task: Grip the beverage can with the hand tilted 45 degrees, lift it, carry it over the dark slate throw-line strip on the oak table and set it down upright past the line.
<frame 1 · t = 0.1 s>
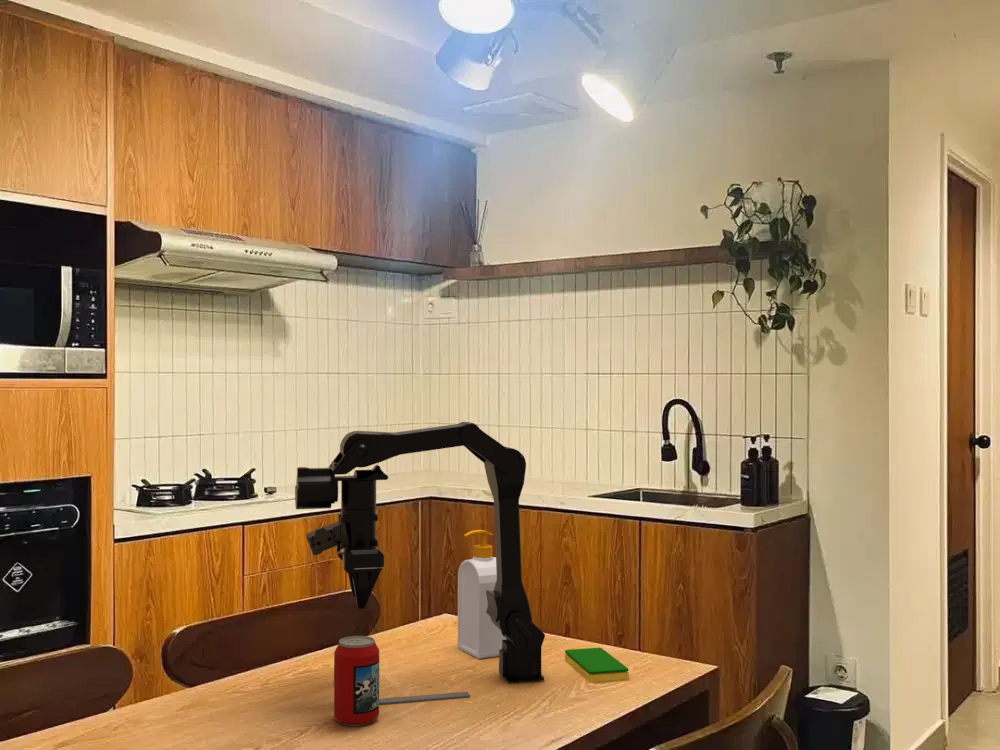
hand: (358, 602, 159), 15 cm above the table, tool pointing down, fingers open, 9 cm apart
dish sponge: (595, 673, 171), on the table
soap bottle: (480, 653, 182), on the table
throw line: (411, 700, 154), on the table
beverage can: (356, 721, 145), on the table
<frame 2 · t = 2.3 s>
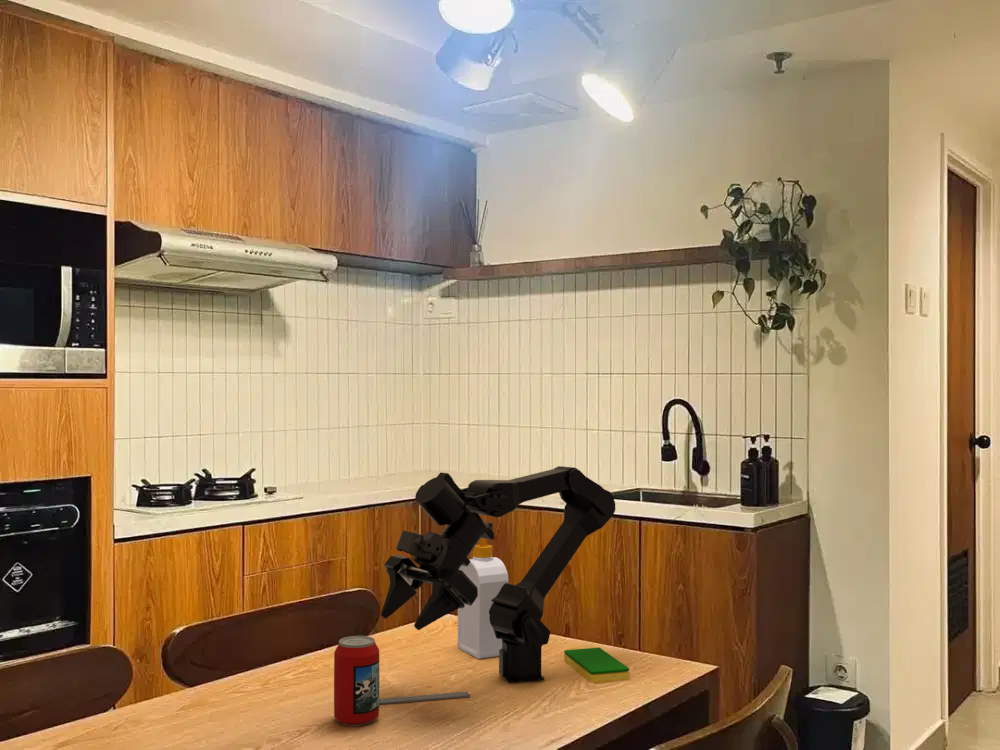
hand: (399, 622, 150), 13 cm above the table, tool tilted 45°, fingers open, 9 cm apart
nothing on the table moved.
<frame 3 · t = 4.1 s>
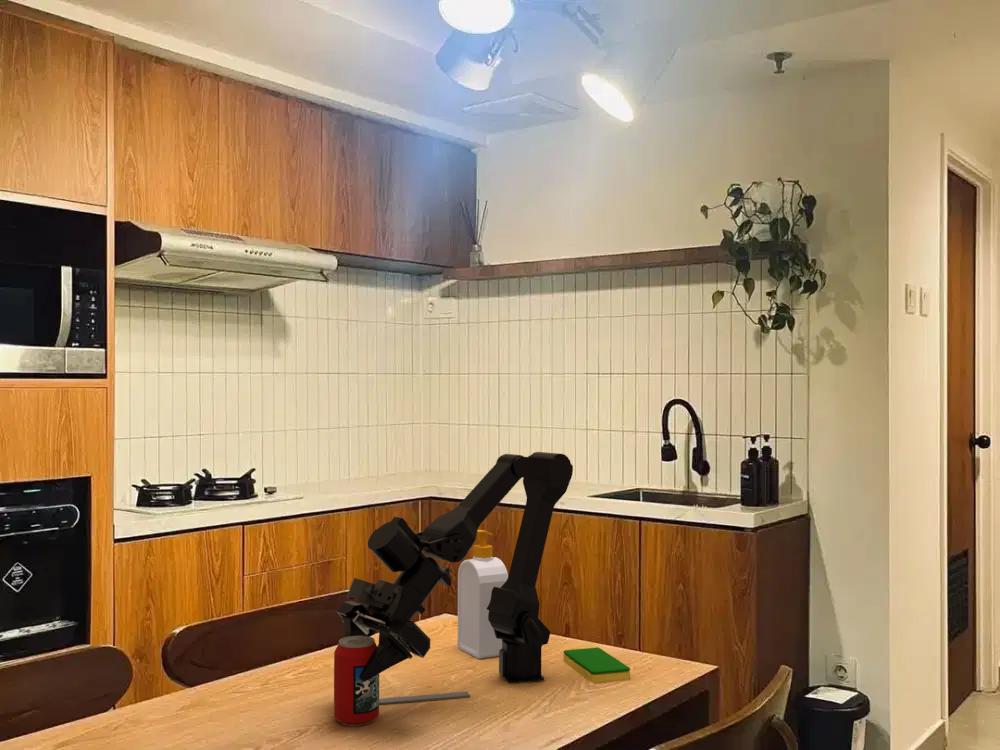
hand: (348, 674, 144), 7 cm above the table, tool tilted 45°, fingers closed on beverage can, 7 cm apart
beverage can: (356, 721, 145), on the table, touching gripper
everything else where it was.
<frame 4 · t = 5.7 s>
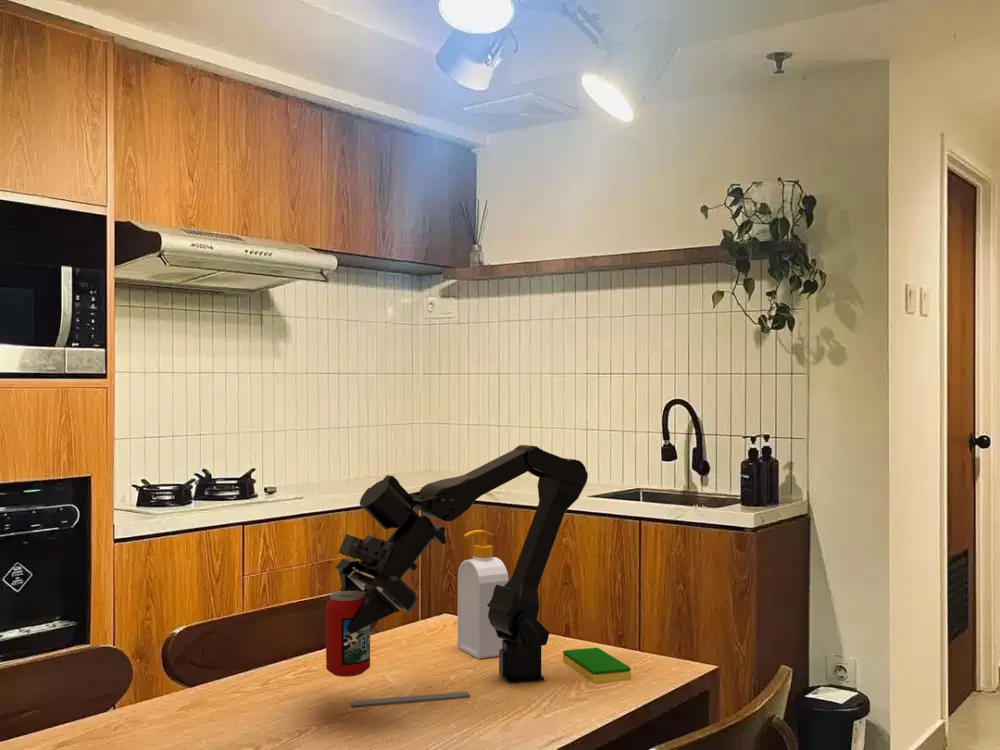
hand: (339, 626, 149), 13 cm above the table, tool tilted 45°, fingers closed on beverage can, 7 cm apart
beverage can: (348, 673, 149), point 6 cm above the table, touching gripper
everything else where it was.
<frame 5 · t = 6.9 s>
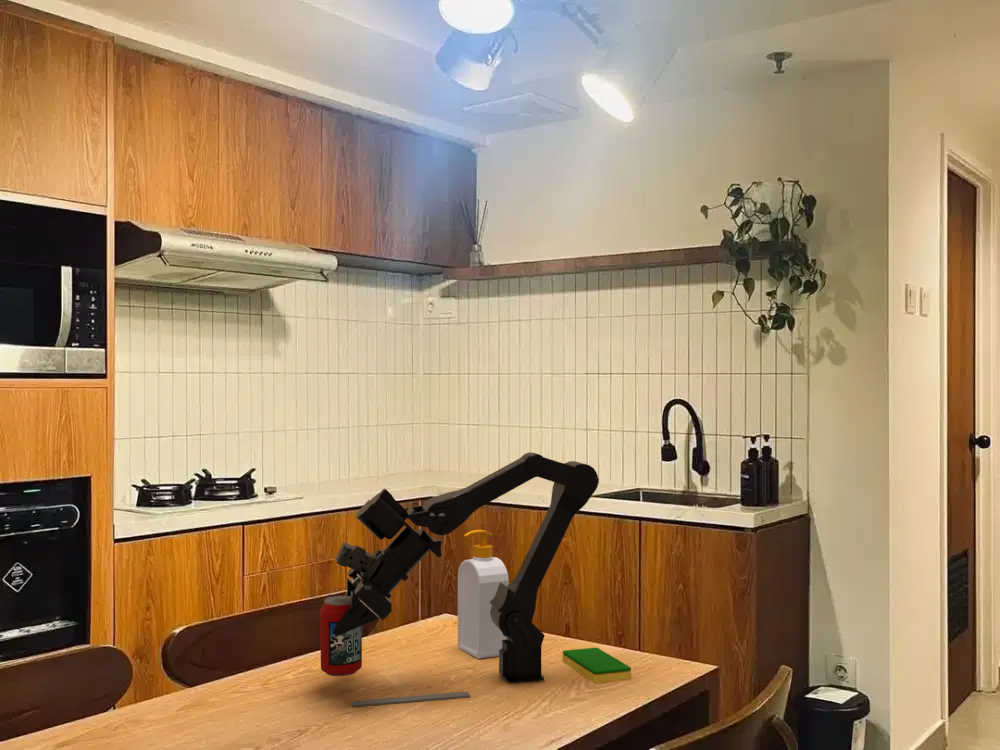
hand: (333, 628, 159), 10 cm above the table, tool tilted 45°, fingers closed on beverage can, 7 cm apart
beverage can: (341, 673, 159), point 3 cm above the table, touching gripper
everything else where it was.
when the fingers open (8 cm above the table, at t = 7.7 s): beverage can drops 1 cm, on the table.
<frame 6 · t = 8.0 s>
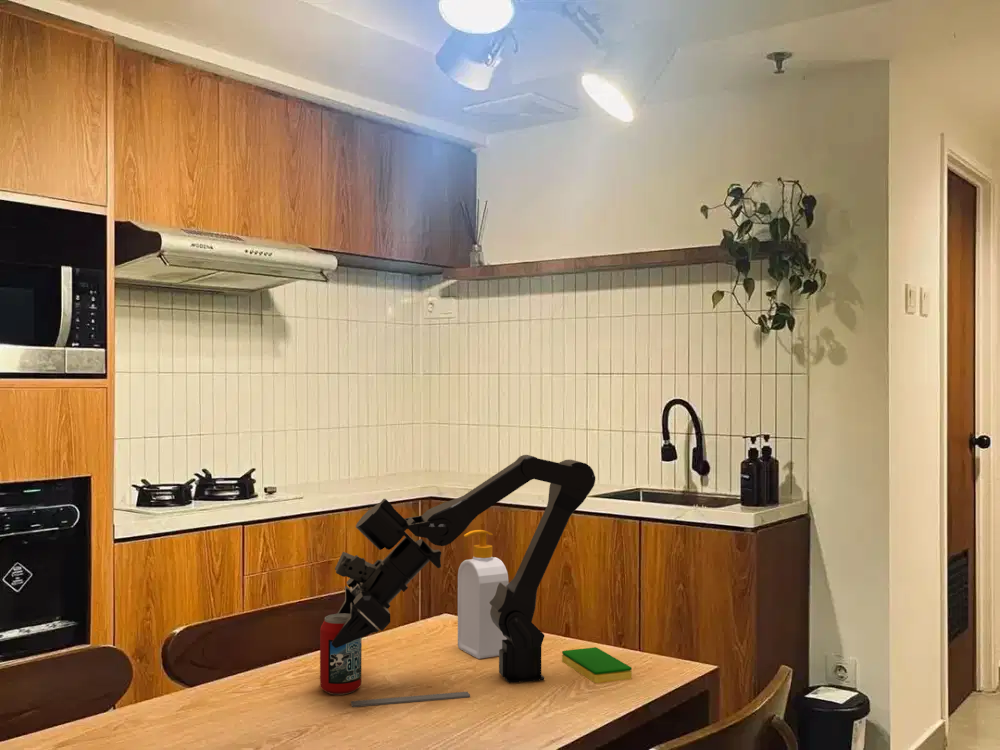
hand: (331, 638, 159), 9 cm above the table, tool tilted 45°, fingers open, 9 cm apart
beverage can: (340, 691, 159), on the table
everything else where it was.
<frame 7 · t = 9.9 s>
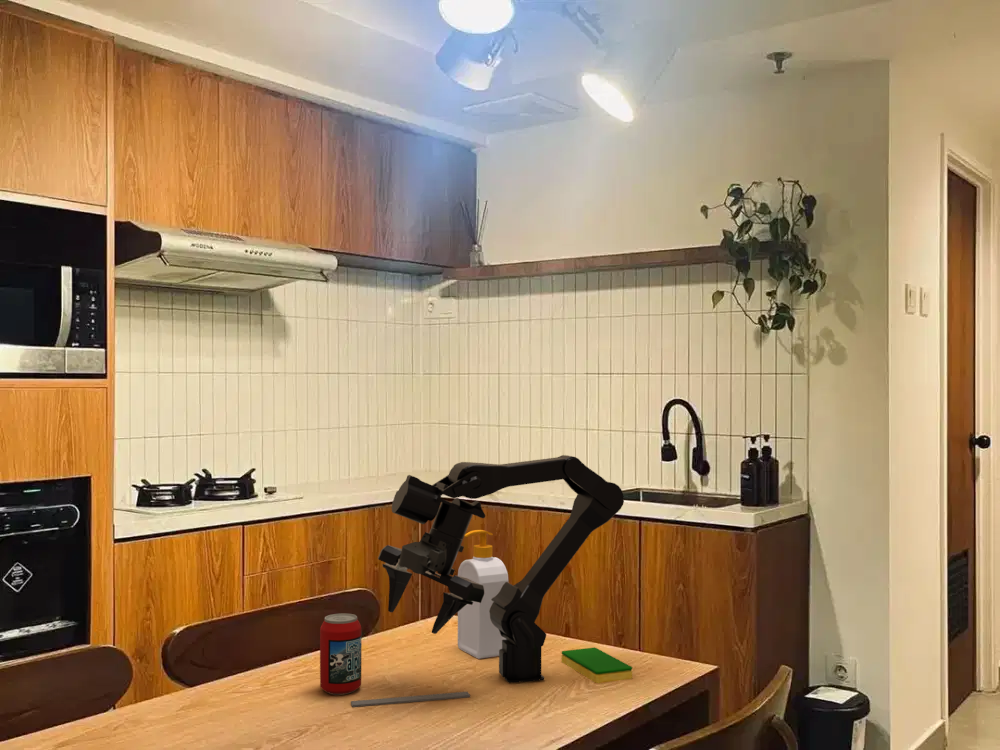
hand: (411, 622, 160), 11 cm above the table, tool tilted 25°, fingers open, 9 cm apart
nothing on the table moved.
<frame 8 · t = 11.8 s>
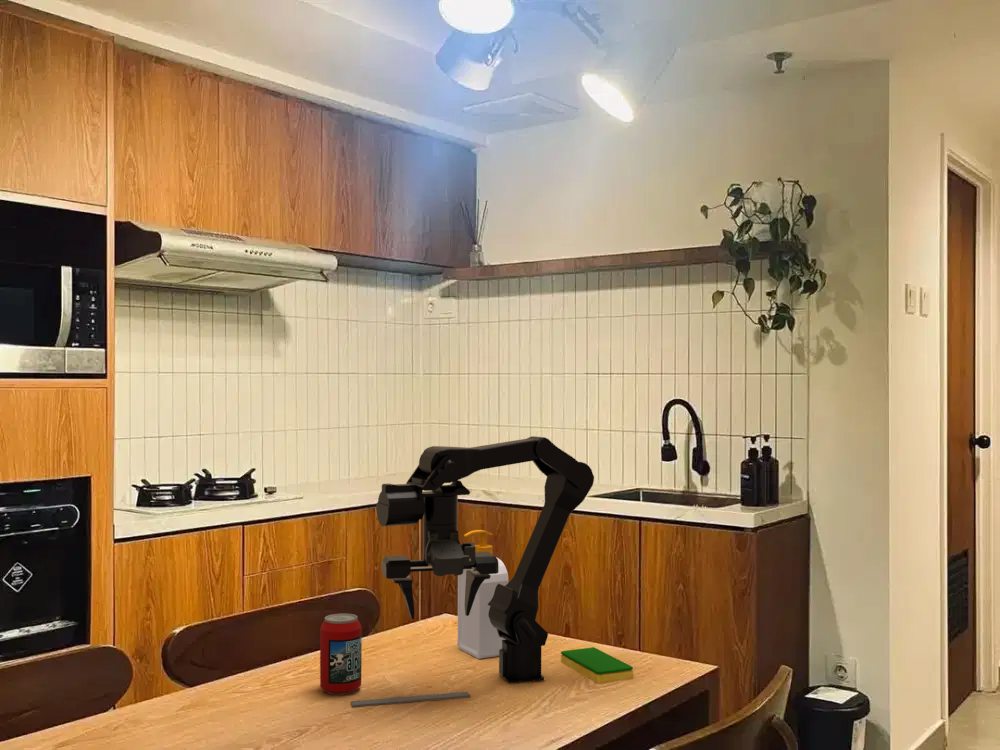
hand: (439, 617, 160), 12 cm above the table, tool pointing down, fingers open, 9 cm apart
nothing on the table moved.
at the end: beverage can inside the target area (1.1 cm from its centre), on the table; beverage can tilted 0°; the gripper is holding nothing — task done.
